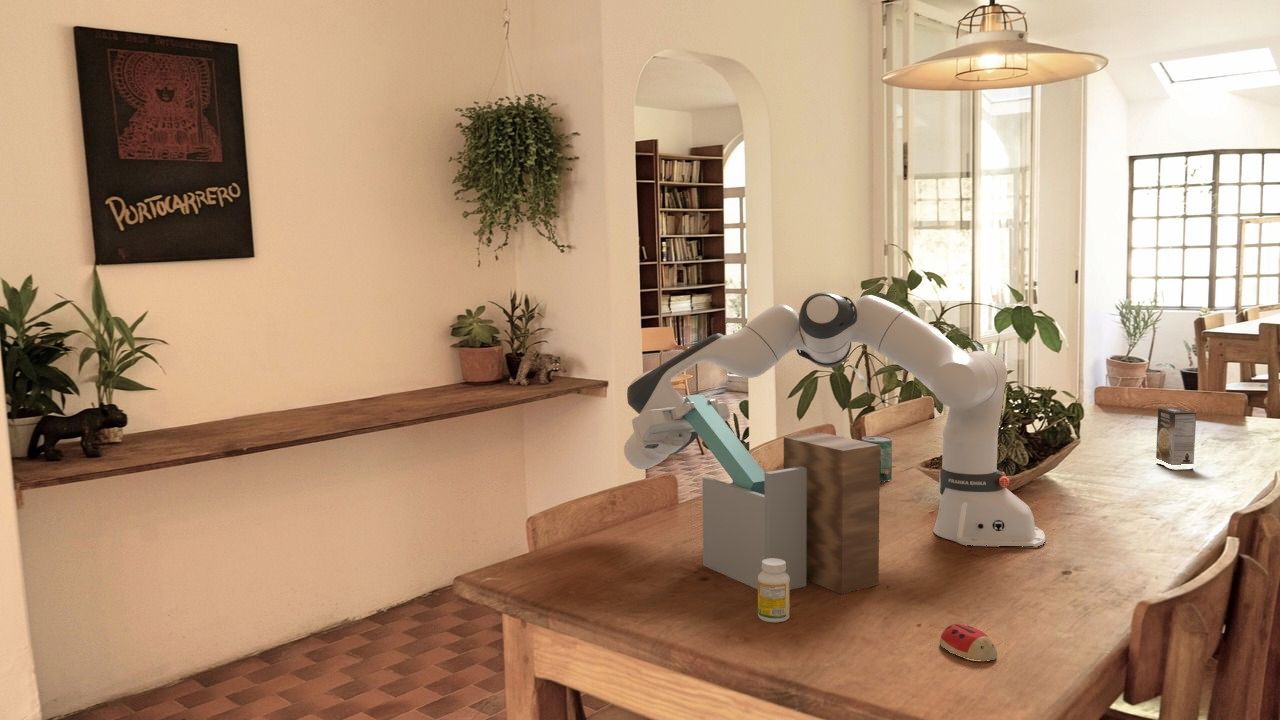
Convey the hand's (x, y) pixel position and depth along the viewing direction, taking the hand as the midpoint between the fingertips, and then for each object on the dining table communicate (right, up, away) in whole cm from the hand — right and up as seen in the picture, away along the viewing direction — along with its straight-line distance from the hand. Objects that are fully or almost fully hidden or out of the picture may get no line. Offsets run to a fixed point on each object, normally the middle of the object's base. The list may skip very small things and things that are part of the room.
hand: (702, 404), depth 198 cm
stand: (+23, -32, -12) cm, 41 cm away
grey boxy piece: (+9, -32, -10) cm, 35 cm away
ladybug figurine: (+37, -36, -47) cm, 70 cm away
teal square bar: (+3, -9, -4) cm, 11 cm away
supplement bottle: (+10, -35, -32) cm, 48 cm away
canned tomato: (+51, -23, +68) cm, 88 cm away
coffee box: (+135, -21, +76) cm, 157 cm away
